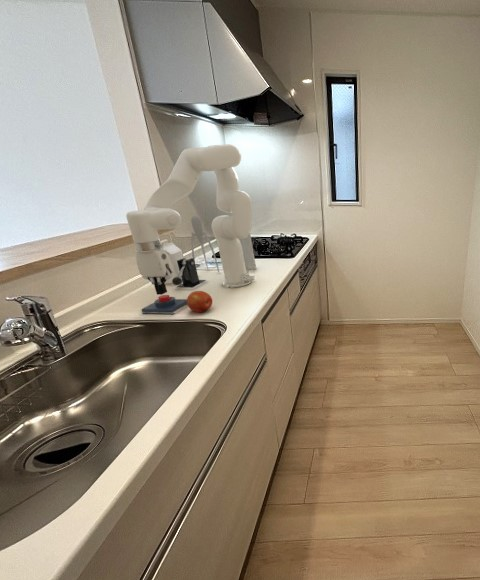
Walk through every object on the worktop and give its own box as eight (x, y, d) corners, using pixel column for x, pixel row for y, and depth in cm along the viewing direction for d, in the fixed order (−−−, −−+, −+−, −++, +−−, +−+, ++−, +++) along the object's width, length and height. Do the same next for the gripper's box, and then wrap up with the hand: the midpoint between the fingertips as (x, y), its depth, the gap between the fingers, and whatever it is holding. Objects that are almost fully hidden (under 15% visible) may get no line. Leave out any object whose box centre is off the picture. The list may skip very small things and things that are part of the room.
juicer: (214, 276, 158) (200, 216, 147) (196, 276, 158) (181, 216, 147) (224, 270, 168) (212, 213, 157) (208, 270, 168) (194, 213, 157)
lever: (181, 286, 137) (176, 282, 134) (173, 286, 137) (168, 282, 134) (193, 263, 144) (188, 258, 141) (186, 263, 144) (181, 258, 141)
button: (172, 298, 121) (171, 294, 121) (166, 302, 118) (164, 298, 117) (164, 298, 122) (162, 294, 121) (157, 302, 118) (155, 298, 118)
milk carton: (189, 280, 153) (180, 242, 147) (179, 285, 147) (168, 245, 140) (176, 279, 154) (166, 242, 147) (165, 284, 148) (154, 245, 141)
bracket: (193, 289, 141) (186, 262, 136) (176, 289, 142) (169, 262, 137) (206, 282, 150) (200, 256, 146) (191, 282, 151) (184, 256, 146)
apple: (206, 305, 124) (201, 286, 121) (219, 309, 120) (214, 290, 117) (185, 312, 118) (180, 293, 115) (198, 317, 114) (193, 297, 111)
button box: (190, 304, 125) (188, 295, 124) (172, 315, 116) (170, 305, 115) (162, 303, 126) (159, 294, 125) (142, 314, 117) (139, 304, 116)
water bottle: (259, 268, 171) (252, 222, 162) (249, 272, 164) (240, 224, 155) (246, 266, 174) (238, 221, 165) (235, 270, 167) (226, 223, 158)
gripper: (175, 243, 115) (187, 290, 122) (137, 243, 116) (151, 289, 123) (160, 248, 108) (173, 297, 115) (120, 248, 109) (135, 296, 116)
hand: (162, 293), depth 119 cm, fingers closed
